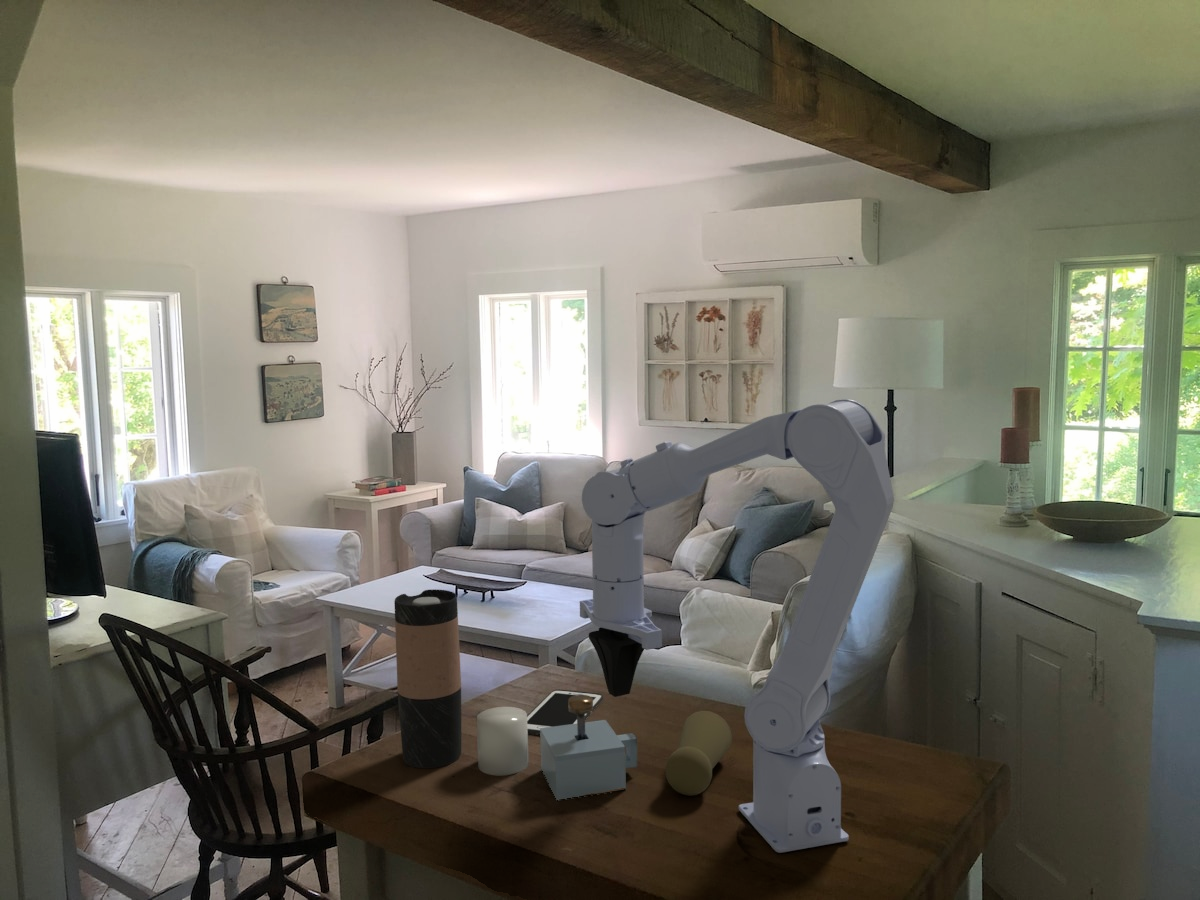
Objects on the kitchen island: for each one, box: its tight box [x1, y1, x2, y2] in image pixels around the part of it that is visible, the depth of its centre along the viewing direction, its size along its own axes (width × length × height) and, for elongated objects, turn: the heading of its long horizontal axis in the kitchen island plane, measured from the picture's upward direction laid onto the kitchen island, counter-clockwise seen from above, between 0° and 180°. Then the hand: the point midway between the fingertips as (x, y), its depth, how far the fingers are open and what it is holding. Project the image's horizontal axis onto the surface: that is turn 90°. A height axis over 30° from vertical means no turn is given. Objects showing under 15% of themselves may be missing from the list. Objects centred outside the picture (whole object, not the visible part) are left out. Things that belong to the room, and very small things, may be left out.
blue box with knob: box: [539, 719, 638, 802], centre depth 107 cm, size 8×10×5 cm
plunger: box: [568, 695, 594, 740], centre depth 107 cm, size 3×3×6 cm
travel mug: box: [394, 589, 462, 769], centre depth 113 cm, size 8×8×20 cm
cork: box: [665, 710, 733, 797], centre depth 107 cm, size 6×6×11 cm
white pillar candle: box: [476, 706, 529, 777], centre depth 112 cm, size 6×6×6 cm
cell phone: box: [527, 688, 604, 736], centre depth 127 cm, size 8×15×1 cm, turn 162°
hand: (619, 693), depth 105 cm, fingers closed
